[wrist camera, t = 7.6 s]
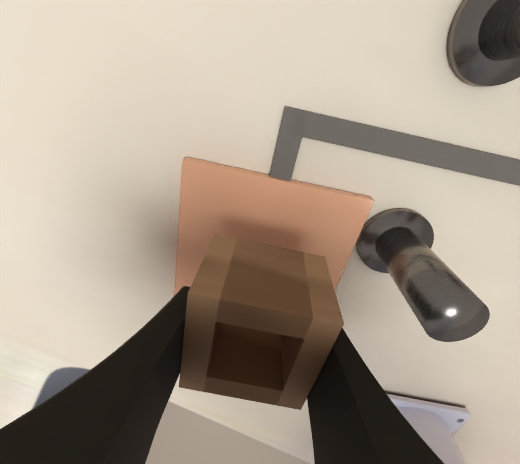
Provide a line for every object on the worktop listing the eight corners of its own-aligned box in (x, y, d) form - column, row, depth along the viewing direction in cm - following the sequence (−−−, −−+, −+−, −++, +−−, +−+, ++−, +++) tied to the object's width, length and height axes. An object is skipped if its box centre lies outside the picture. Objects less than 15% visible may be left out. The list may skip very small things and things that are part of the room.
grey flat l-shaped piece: (501, 235, 13) (504, 237, 13) (267, 184, 13) (267, 186, 12) (550, 167, 11) (555, 168, 11) (285, 106, 11) (285, 106, 11)
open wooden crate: (295, 332, 13) (300, 409, 10) (203, 314, 12) (178, 387, 9) (324, 256, 11) (344, 324, 7) (214, 233, 10) (187, 292, 7)
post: (409, 274, 15) (475, 364, 10) (346, 261, 14) (382, 346, 10) (443, 216, 13) (544, 291, 8) (373, 201, 13) (432, 267, 8)
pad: (315, 326, 17) (316, 332, 16) (176, 299, 16) (173, 305, 16) (371, 196, 13) (374, 200, 12) (186, 156, 12) (182, 159, 12)
